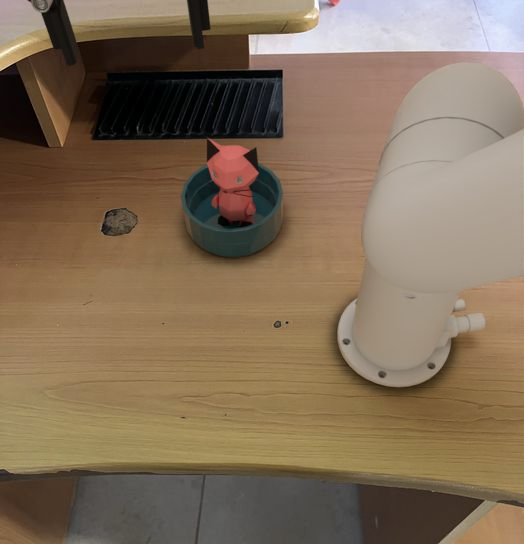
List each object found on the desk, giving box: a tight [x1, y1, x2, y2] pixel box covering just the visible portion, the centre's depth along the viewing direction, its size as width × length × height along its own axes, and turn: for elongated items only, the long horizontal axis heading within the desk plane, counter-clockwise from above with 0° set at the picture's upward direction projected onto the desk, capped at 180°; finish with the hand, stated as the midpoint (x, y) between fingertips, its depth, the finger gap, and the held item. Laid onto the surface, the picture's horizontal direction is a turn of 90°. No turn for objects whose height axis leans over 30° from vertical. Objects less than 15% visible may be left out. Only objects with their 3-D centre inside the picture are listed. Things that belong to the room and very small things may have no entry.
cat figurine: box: [202, 137, 259, 228], centre depth 69 cm, size 7×7×12 cm
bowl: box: [180, 162, 284, 258], centre depth 73 cm, size 13×13×5 cm
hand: (135, 47), depth 44 cm, fingers open, 9 cm apart
